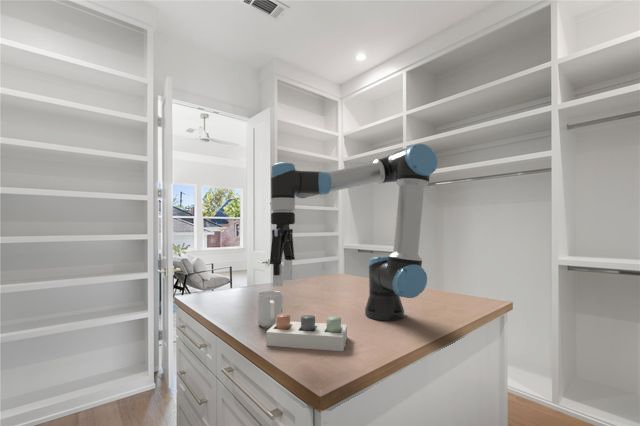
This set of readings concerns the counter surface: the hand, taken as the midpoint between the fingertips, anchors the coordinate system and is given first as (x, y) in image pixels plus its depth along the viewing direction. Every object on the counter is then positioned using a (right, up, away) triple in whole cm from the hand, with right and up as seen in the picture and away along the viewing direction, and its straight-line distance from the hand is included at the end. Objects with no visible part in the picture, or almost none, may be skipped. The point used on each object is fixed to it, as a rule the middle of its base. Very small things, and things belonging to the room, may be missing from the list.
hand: (283, 282), depth 97 cm
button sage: (+16, -14, -4) cm, 22 cm away
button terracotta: (0, -14, -1) cm, 14 cm away
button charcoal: (+8, -14, -2) cm, 17 cm away
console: (+8, -18, -2) cm, 19 cm away
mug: (-6, -18, +13) cm, 23 cm away
